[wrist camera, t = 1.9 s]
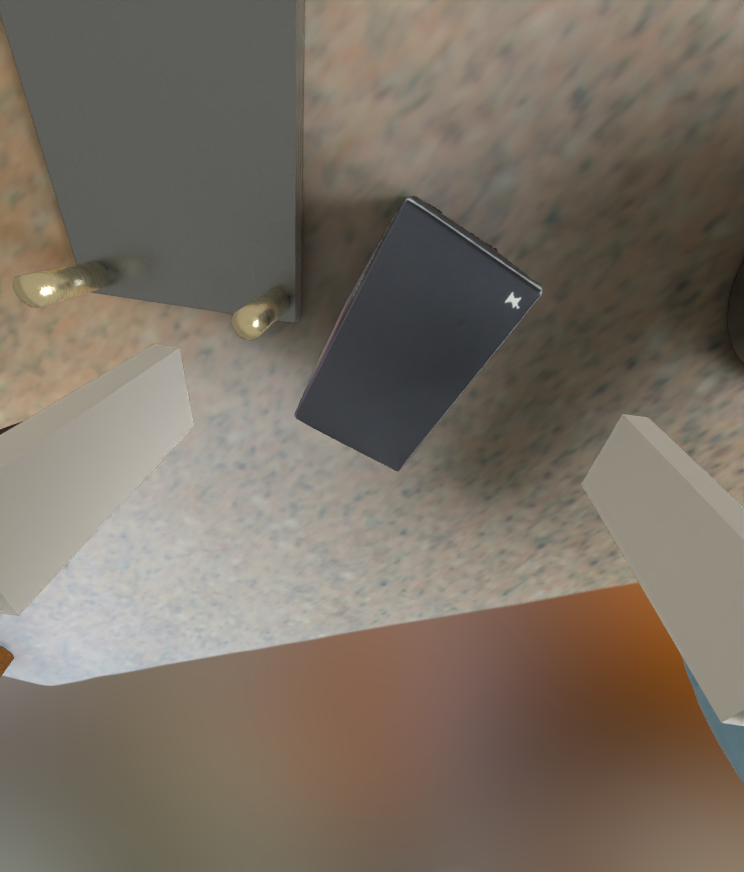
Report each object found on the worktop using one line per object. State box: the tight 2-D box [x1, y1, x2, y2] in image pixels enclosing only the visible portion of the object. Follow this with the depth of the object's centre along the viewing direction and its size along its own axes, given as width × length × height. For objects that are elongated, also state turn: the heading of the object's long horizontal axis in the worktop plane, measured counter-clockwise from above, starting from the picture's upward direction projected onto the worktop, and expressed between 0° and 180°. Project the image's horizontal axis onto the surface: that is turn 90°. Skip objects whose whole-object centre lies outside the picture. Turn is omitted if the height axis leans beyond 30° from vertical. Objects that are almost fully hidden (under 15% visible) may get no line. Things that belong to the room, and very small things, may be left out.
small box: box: [294, 196, 542, 471], centre depth 20 cm, size 11×6×10 cm, turn 151°
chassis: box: [0, 0, 305, 340], centre depth 17 cm, size 14×18×6 cm
